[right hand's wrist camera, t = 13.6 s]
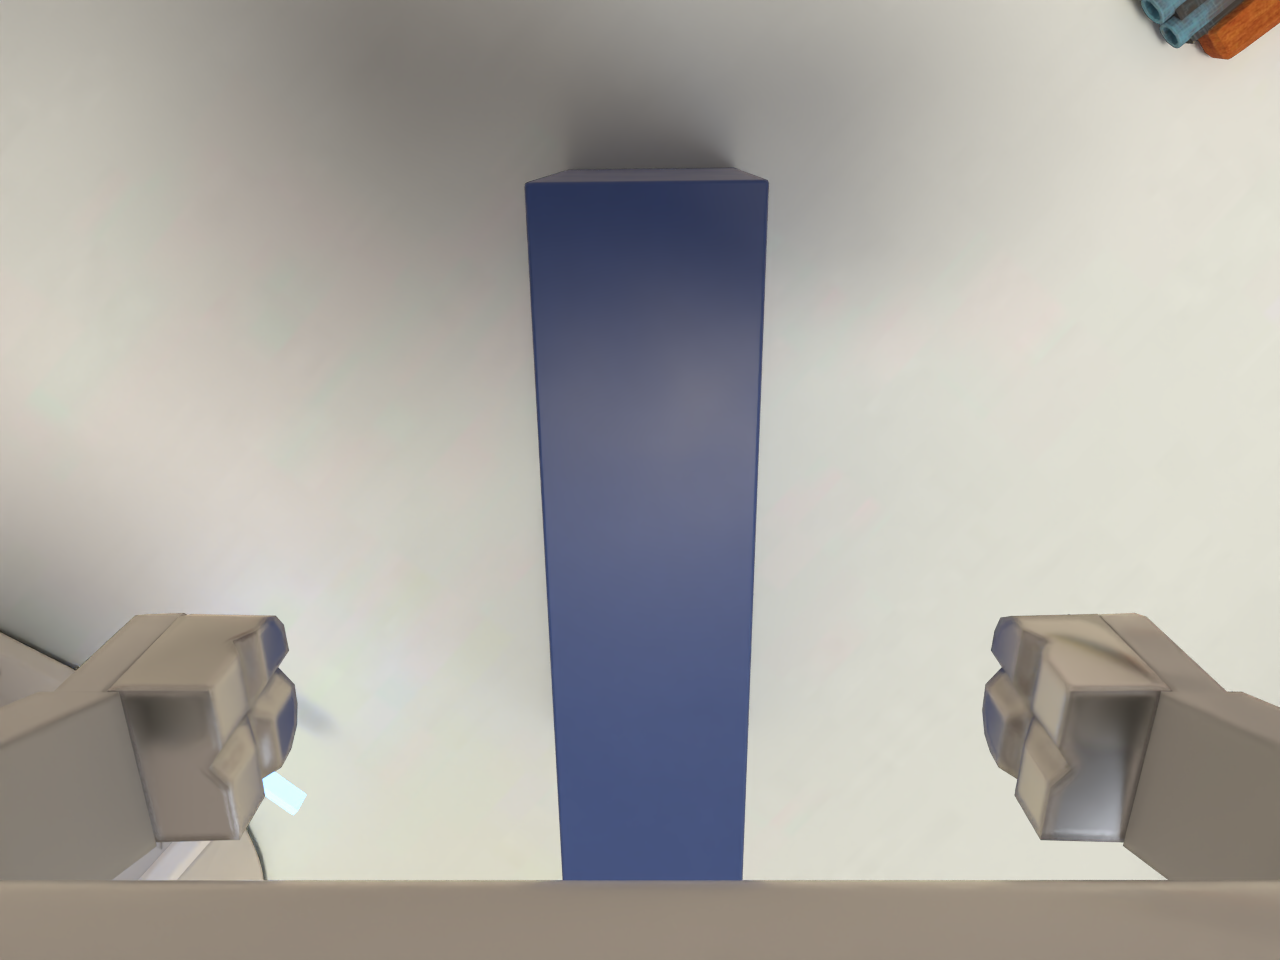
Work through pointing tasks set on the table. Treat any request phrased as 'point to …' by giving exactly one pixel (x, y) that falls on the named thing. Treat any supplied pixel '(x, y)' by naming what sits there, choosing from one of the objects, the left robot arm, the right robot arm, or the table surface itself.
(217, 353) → the table surface
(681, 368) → the bar
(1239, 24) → the toy gun
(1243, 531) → the table surface
